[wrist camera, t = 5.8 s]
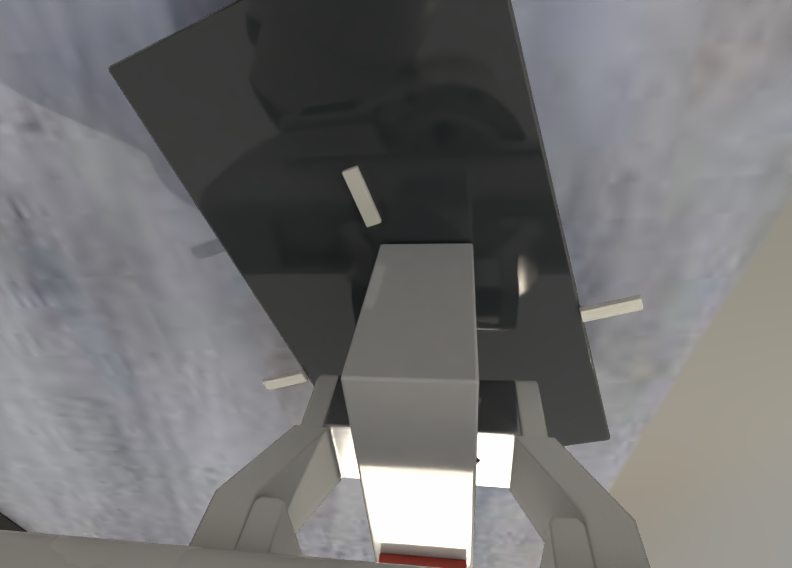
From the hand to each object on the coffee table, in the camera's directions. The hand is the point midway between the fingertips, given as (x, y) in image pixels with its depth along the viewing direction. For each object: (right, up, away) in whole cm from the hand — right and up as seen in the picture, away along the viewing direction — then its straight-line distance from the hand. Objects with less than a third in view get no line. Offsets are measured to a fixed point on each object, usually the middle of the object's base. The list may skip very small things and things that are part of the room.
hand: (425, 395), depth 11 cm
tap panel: (0, +4, +3) cm, 5 cm away
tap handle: (0, +1, +1) cm, 2 cm away
